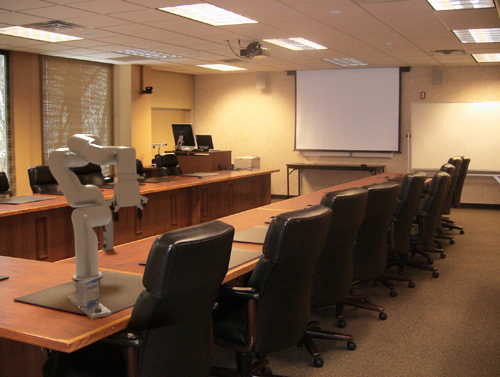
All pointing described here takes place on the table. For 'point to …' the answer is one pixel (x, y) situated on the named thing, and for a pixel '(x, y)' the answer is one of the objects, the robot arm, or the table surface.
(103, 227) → the vintage mobile phone
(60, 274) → the table surface
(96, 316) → the beige hinge strap
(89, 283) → the medicine box
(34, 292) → the table surface
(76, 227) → the robot arm
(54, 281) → the table surface
